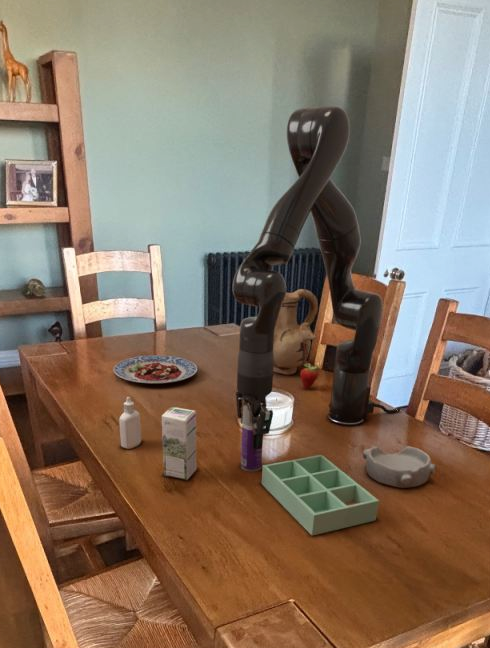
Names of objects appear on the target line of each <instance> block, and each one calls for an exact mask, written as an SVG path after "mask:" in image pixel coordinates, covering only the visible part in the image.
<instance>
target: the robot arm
mask: <svg viewBox="0 0 490 648" xmlns="http://www.w3.org/2000/svg"><path fill="white" fill-rule="evenodd" d="M350 124H351V123H350V120H349V116H348V114H347V113H346V111H345V110H344V109H343V108H341V107H340V106H335V105H334V106H333V105H332V106H331V105H330V106H311V107H303V108H298V109H296V110H295V111H293V112H292V113H291V114H290V116H289V119H288V120H287V125H286V143H287V148H288V151H289V155H290V158H291V161H292V163H293V166H294V168H295V171H296V174H297V177H298V178H297V179H296V180H295V182H294V183H293V184H292V185H291V186H290V187H289V188H288V189H287V191H285V192H284V194H282V196H281V197H280V198H279V199H278V200H277V202H275V204H273V207H272V209H271V210H270V212H269V213H268V216H267V218H266V221H265V224H264V226H263V228H262V229H261V232H260V235H259V238H258V241H257V243H255V245H254V246H253V248H252V249H251V250H250V251H249V252H248V255H247V256H246V257H245V258H244V260H243V261H242V262H241V264H240V265H239V267H238V268H237V270H236V272H235V274H234V277H233V279H232V293H233V297H234V299H235V300H236V301H237V302H238V303H240V304H243V305H246V306H252V307H256V308H259V311H258V314H257V316H248V317H245V318H244V319H242V321H241V322H240V326H239V343H238V344H239V346H238V347H239V348H238V355H237V371H236V372H237V373H236V390H237V391H236V392H235V398H236V411H237V419H240V423H241V424H242V422H243V407H244V405H247V408H248V411H249V420H250V423H251V424H252V428H253V439H252V448H253V449H254V450H258V449H261V448H262V449H263V444H264V435H268V434H270V430H271V425H272V421H273V418H274V417H273V416H274V411H273V410H272V409H269V410H268V408H267V397H268V395H270V394H271V393H272V391H273V383H274V382H273V381H274V371H273V368H274V354H273V347H274V331H275V327H276V323H277V320H278V317H279V313H280V310H281V307H282V305H283V302H284V299H285V295H286V293H287V285H286V280H285V278H284V276H283V275H282V273H280V272H279V271H276V270H273V269H271V268H273V267H276V266H280V265H285V264H287V263H288V262H289V261H290V259H291V258H292V255H293V253H294V250H295V247H296V245H297V244H298V243H297V242H298V241H299V238H300V235H301V232H302V230H303V228H304V226H305V223H306V221H307V219H308V217H309V214H310V216H311V219H312V223H313V227H314V232H315V236H316V240H317V244H318V247H319V250H320V253H321V256H322V261H323V265H324V269H325V274H326V278H327V282H328V287H329V294H330V301H331V307H332V313H333V317H334V320H335V321H336V323H337V324H338V325H340V326H341V327H343V328H346V329H350V330H352V331H353V330H354V331H355V333H354V337H353V339H348V340H344V341H341V342H339V343H338V344H337V346H336V351H335V359H334V368H333V376H332V377H333V378H332V384H331V385H332V386H331V394H330V402H329V404H328V408H329V411H328V416H327V417H328V420H329V421H330V422H332V423H334V424H336V425H341V426H350V427H351V426H358V425H361V424H363V422H366V421H367V416H368V414H373V413H374V410H375V408H379V409H381V410H382V411H383V412H385V413H387V414H392V413H393V414H394V413H398V412H400V411H401V408H399V407H397V408H393V409H388V408H387V407H386V406H384V405H382V404H379V403H376V402H375V401H373V400H371V399H370V398H371V390H372V387H371V385H369V382H370V376H371V375H370V374H371V368H372V362H373V356H374V351H375V349H376V346H377V343H378V337H379V332H380V326H381V323H382V318H383V311H384V304H383V303H384V302H383V299H382V297H381V295H379V294H377V293H374V292H370V291H365V290H361V289H357V288H356V287H355V285H354V281H353V277H352V269H353V266H354V263H355V261H356V259H357V257H358V254H359V252H360V249H361V243H362V238H361V232H360V226H359V222H358V217H357V214H356V211H355V209H354V207H353V206H352V204H351V203H350V201H349V200H348V198H347V196H345V195H344V193H342V191H341V190H340V189H339V187H338V186H336V184H335V183H334V181H333V180H332V179H331V177H332V175H333V174H334V172H335V171H336V168H338V165H339V163H340V162H341V160H342V158H343V156H344V155H345V152H346V149H347V146H348V144H349V141H350V133H351V132H350V131H351V125H350ZM396 409H397V410H398V411H397V410H396ZM254 417H259V420H254ZM257 423H258V426H256V424H257Z"/></svg>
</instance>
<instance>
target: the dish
mask: <svg viewBox="0 0 490 648" xmlns="http://www.w3.org/2000/svg"><path fill="white" fill-rule="evenodd" d="M362 458H364V459H365V468H366V469H365V470H366V473H367V474H368V476H369V477H371V479H373V480H375V481H377V482H379V483H381V484H384V485H387V486H390V487H395V488H403V489H404V488H405V489H406V488H408V489H409V488H414V487H419V486H421V485H423V484H424V483H426V482H427V481H428V480H429V478H430V475H434V474H435V472H436V464H435V463H432V459H431V457H430V455H429V454H428V453H427V452H425V451H424V450H421V449H420V448H418V447H413V446H410V445H407V446H405V447H404V448H402V449H401V450H400V451H399V452H396V453H386V452H384V451H383V450H382V449H381V448H380V447H379V445H374V446H371V448H365V449H364V450H363V452H362Z"/></svg>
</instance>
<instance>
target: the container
mask: <svg viewBox="0 0 490 648" xmlns="http://www.w3.org/2000/svg"><path fill="white" fill-rule="evenodd" d="M254 420H259V417H254ZM256 426H258V423H257V424H256ZM252 439H253V428H252V424H251V423H250V420H249V411H248V408H247V405H244V407H243V422H242V423H241V449H240V450H241V451H240V468H241V469H242V470H243V471H245V472H252V473H253V472H258V471H260V470H261V469H262V462H263V461H262V460H263V447H262V448H261V449H258V450H254V449H253V448H252Z"/></svg>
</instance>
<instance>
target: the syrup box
mask: <svg viewBox="0 0 490 648" xmlns="http://www.w3.org/2000/svg"><path fill="white" fill-rule="evenodd" d="M161 432H162V433H161V434H162V435H161V436H162V457H163V459H162V460H163V475H164V477H168V478H176V479H180V480H184V481H188V480H189V479H190V478H191V477H192V475H193V474H194V473H195V472H196V471H197V467H198V466H197V411H196V410H194V409H187V408H181V407H175V406H171V407H170V408H168V409H167V410H165V412H164V413H163V414H162V415H161Z"/></svg>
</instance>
